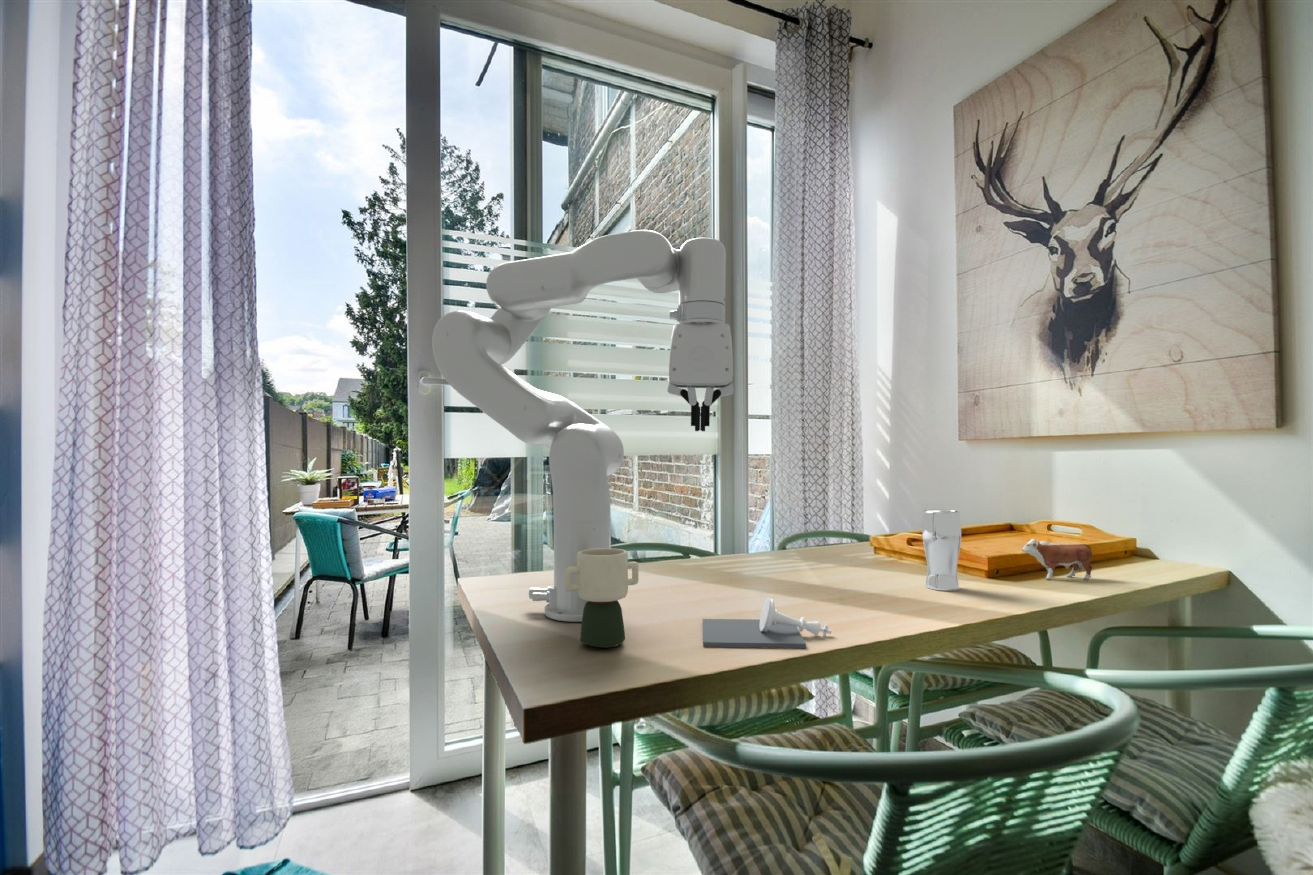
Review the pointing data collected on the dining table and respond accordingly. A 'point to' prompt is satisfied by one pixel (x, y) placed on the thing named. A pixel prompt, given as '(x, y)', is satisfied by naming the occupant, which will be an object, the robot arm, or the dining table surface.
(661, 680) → the dining table surface
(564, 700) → the dining table surface
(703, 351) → the robot arm
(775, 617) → the chess piece
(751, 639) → the mat
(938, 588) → the beer glass
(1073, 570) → the bull figurine
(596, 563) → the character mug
